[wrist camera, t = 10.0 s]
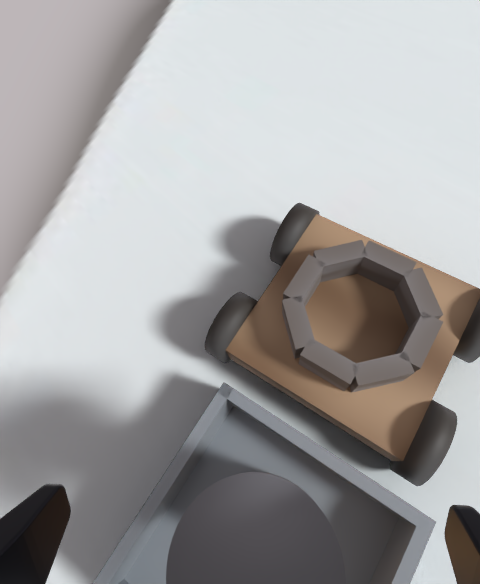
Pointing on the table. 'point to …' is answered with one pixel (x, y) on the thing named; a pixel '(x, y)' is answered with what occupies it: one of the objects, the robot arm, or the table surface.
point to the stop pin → (254, 536)
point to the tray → (287, 464)
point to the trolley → (356, 338)
